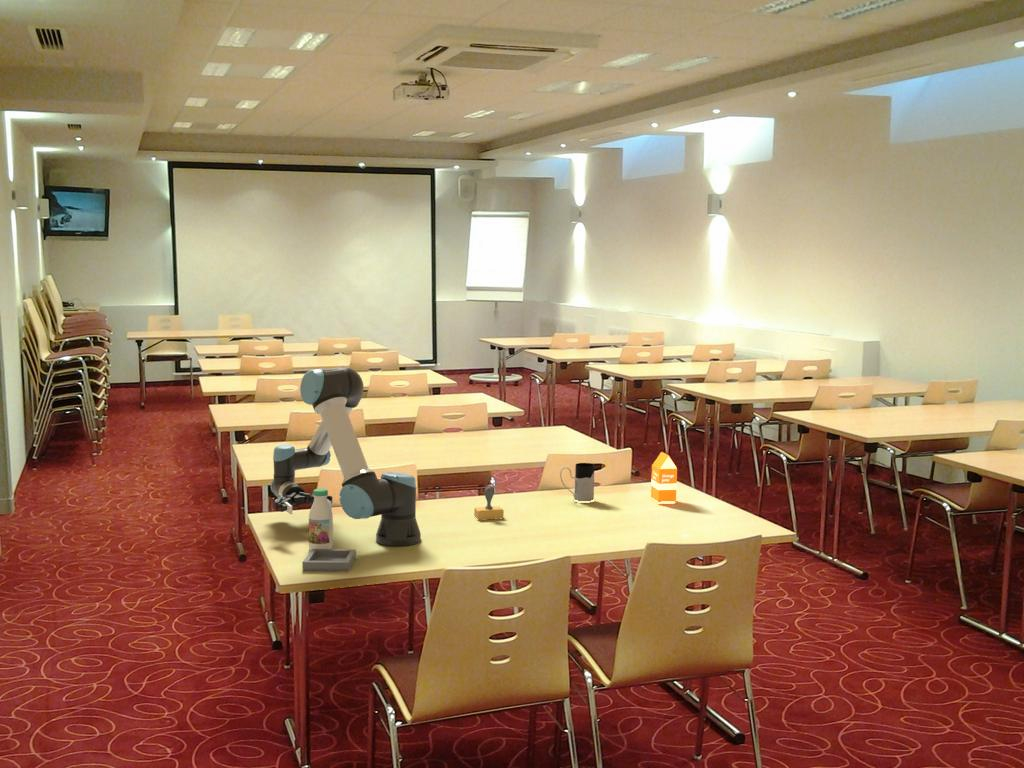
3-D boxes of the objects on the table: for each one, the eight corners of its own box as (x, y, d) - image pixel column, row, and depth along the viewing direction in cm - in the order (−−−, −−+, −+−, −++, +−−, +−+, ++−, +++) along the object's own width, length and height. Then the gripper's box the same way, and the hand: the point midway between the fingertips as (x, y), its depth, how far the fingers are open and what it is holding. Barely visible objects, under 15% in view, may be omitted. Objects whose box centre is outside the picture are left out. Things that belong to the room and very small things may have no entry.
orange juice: (657, 504, 382) (659, 455, 379) (650, 499, 390) (652, 451, 388) (676, 504, 383) (678, 455, 381) (668, 499, 392) (670, 451, 390)
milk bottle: (316, 545, 318) (315, 486, 316) (337, 547, 316) (336, 488, 314) (304, 551, 311) (304, 491, 309) (326, 553, 309) (325, 493, 306)
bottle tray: (356, 558, 305) (355, 549, 304) (348, 571, 291) (348, 562, 290) (312, 557, 305) (312, 548, 304) (302, 570, 291) (302, 561, 290)
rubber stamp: (477, 520, 353) (478, 489, 352) (474, 517, 359) (474, 485, 357) (503, 519, 356) (504, 487, 354) (499, 515, 361) (500, 484, 360)
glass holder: (595, 503, 382) (596, 467, 380) (560, 503, 381) (561, 466, 380) (593, 498, 390) (594, 462, 389) (558, 498, 390) (559, 462, 388)
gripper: (326, 501, 346) (346, 514, 327) (257, 508, 333) (274, 523, 315) (326, 480, 345) (346, 493, 326) (257, 487, 332) (274, 500, 314)
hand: (311, 508), depth 321 cm, fingers open, 13 cm apart
